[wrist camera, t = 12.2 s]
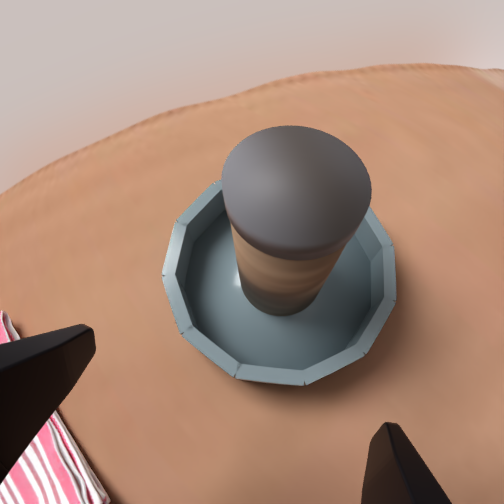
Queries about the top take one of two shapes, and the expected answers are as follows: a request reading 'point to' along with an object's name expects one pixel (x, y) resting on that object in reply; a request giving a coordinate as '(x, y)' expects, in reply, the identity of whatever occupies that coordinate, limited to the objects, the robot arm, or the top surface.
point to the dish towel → (49, 462)
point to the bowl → (268, 326)
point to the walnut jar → (291, 212)
